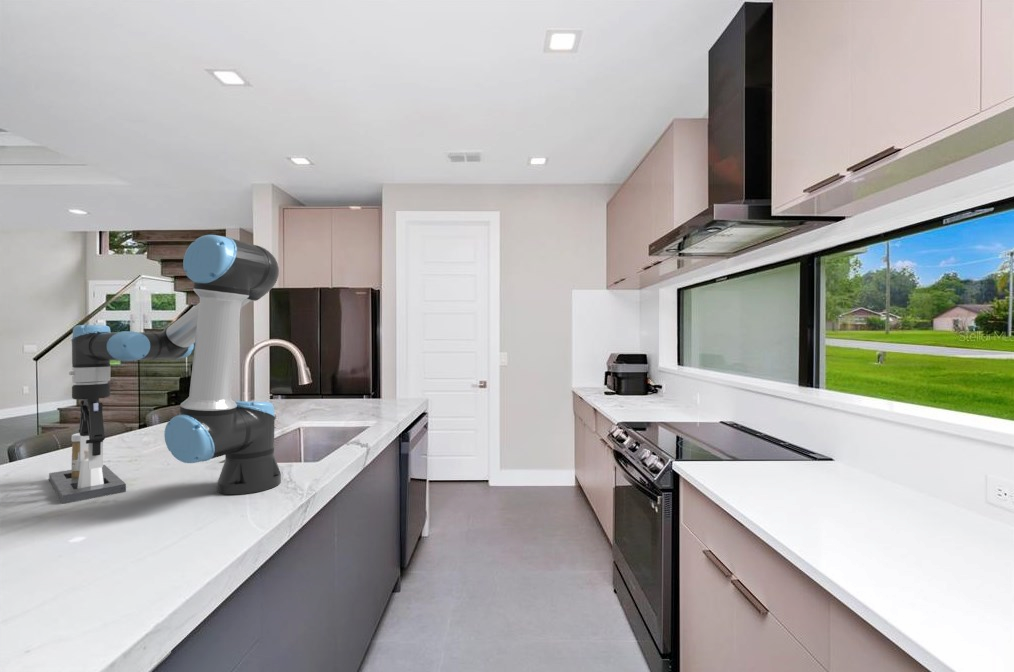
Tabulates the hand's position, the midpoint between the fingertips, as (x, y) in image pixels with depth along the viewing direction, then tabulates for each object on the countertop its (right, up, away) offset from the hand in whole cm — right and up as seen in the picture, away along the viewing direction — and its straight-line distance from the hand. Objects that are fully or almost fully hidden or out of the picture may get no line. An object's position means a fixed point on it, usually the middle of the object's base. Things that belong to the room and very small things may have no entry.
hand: (91, 463), depth 121 cm
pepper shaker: (0, -7, 0) cm, 7 cm away
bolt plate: (-6, -7, +4) cm, 10 cm away
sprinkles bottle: (-11, -8, +9) cm, 16 cm away
